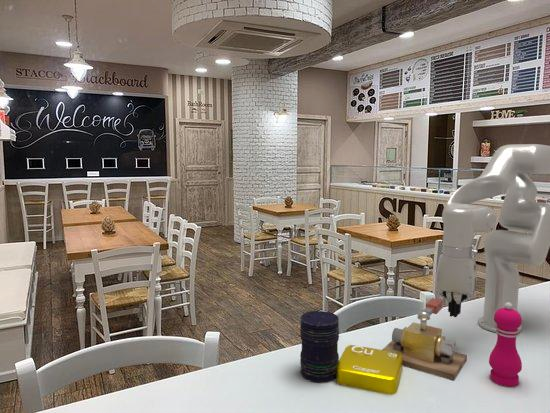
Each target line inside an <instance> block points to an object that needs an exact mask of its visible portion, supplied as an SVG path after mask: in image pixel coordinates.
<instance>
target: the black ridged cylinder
mask: <svg viewBox="0 0 550 413" xmlns="http://www.w3.org/2000/svg"><path fill="white" fill-rule="evenodd" d="M339 320H340V319H339V316H338V315H337V314H335V313H333V312H329V311H323V310H313V311H312V310H311V311H307V312H305V313H303V314H301V315H300V327H299V330H300V331H299V335H300V340H301V350H300V355H299V357H300V360H299V364H300V375H301V377H302V378H303V379H304V380H306V381H307V382H308V381H309V382H310V383H315V384H316V383H317V384H326V383H330V382H333V381H336V365H337V363H338V361H339V359H340V355H339V352H338V344H339V338H340V326H339V322H340V321H339Z"/></svg>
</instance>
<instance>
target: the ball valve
mask: <svg viewBox="0 0 550 413" xmlns="http://www.w3.org/2000/svg"><path fill="white" fill-rule="evenodd" d="M419 320H420V319H419ZM427 321H428V320H420V323H417V322H412V323H411V324H410V325H408V326H406V327H404V328H397V327H394V328H393V330H392V333H391V341H393V342H395V343H394V350H398V351H401V350H402V349H403V348H404V355H405V356H409V357H413V358H416V359H420V360H423V361H427V362H431V363H434V362H435V360H436V359H437V358H438V357H440V358H441V362H442V363H445V364H450V362H451V361H452V360H453V356H454V353H455V352H456V341H453V340H448V339H446V337H445V336H444V335H443V329H442V328H440V327H436V326H431V325H427V323H428V322H427Z"/></svg>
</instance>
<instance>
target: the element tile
mask: <svg viewBox="0 0 550 413" xmlns="http://www.w3.org/2000/svg"><path fill="white" fill-rule="evenodd" d="M402 364H403V357H402V355H401V354H400V353H398V352H392V351H386V350H382V349H378V348H372V347H368V346H361V345H354V344H353V345H352V344H348V346H346V347H345V348H344V350H343V352H342V354H341V355H340V357H339V361H338V363H337V365H336V379H335V382H336V383H337V384H339V385H340V386H345V387H351V388H355V389H358V390H359V389H360V390H365V391H369V392H376V393H380V394H385V395H395V394H397V393H398V391H399V386H400V382H401V377H402V373H403V365H402Z"/></svg>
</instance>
